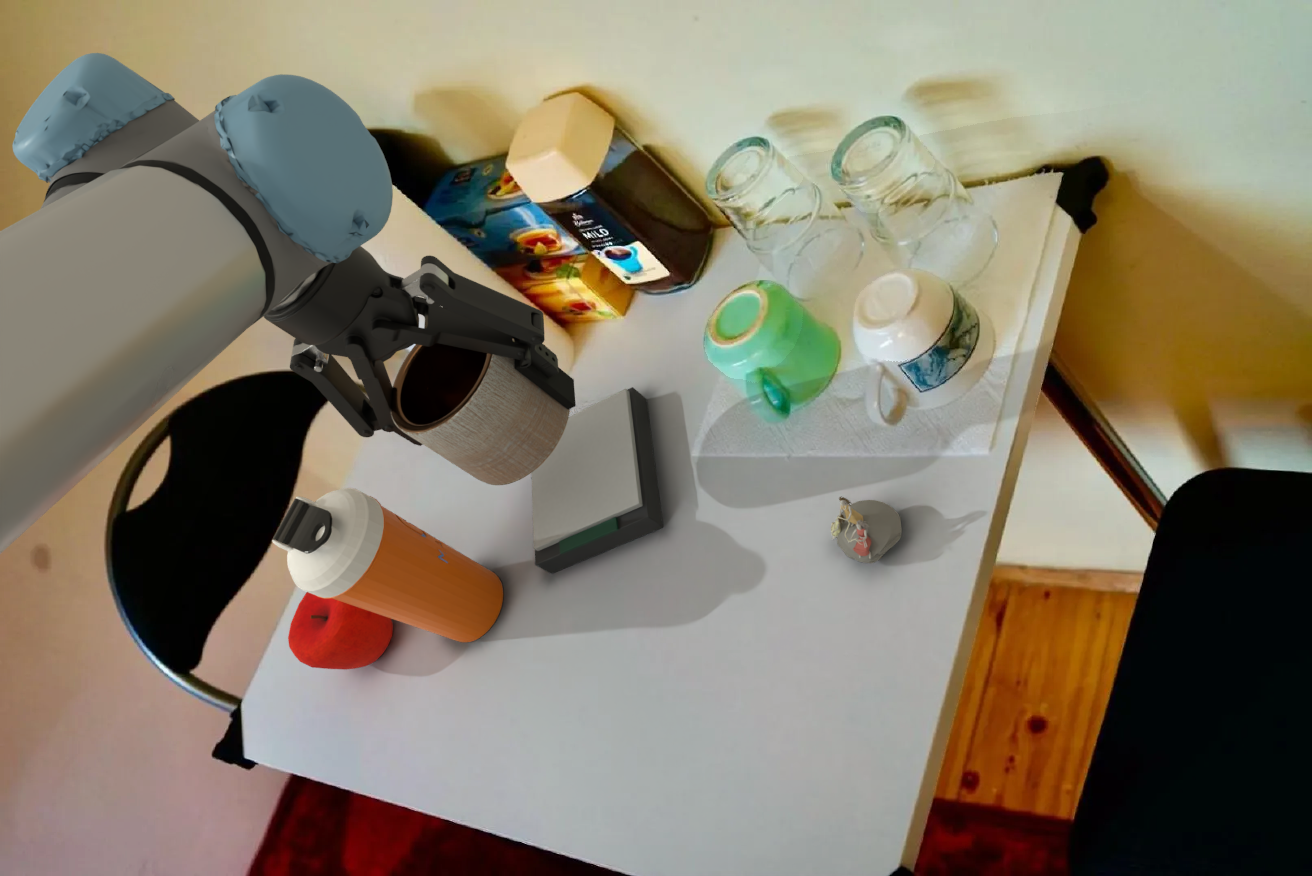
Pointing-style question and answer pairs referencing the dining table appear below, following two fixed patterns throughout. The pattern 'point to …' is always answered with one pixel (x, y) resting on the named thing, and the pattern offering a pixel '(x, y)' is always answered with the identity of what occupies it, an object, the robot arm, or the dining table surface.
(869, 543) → the figurine
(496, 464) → the planter
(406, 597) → the shaker bottle
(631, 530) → the scale
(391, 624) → the apple
